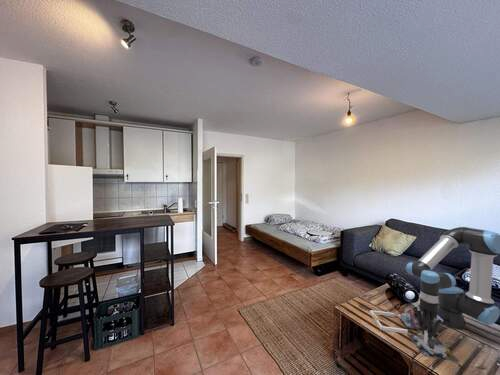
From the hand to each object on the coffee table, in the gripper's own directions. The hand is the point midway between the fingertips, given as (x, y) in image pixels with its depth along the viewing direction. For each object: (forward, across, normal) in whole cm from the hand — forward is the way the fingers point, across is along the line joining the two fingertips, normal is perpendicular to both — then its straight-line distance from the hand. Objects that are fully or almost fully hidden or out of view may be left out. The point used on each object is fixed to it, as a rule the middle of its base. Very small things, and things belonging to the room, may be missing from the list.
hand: (427, 342), depth 111 cm
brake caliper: (+5, -16, +12) cm, 21 cm away
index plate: (+4, 0, +4) cm, 6 cm away
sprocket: (+4, 0, +4) cm, 5 cm away
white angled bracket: (+4, -22, 0) cm, 22 cm away
